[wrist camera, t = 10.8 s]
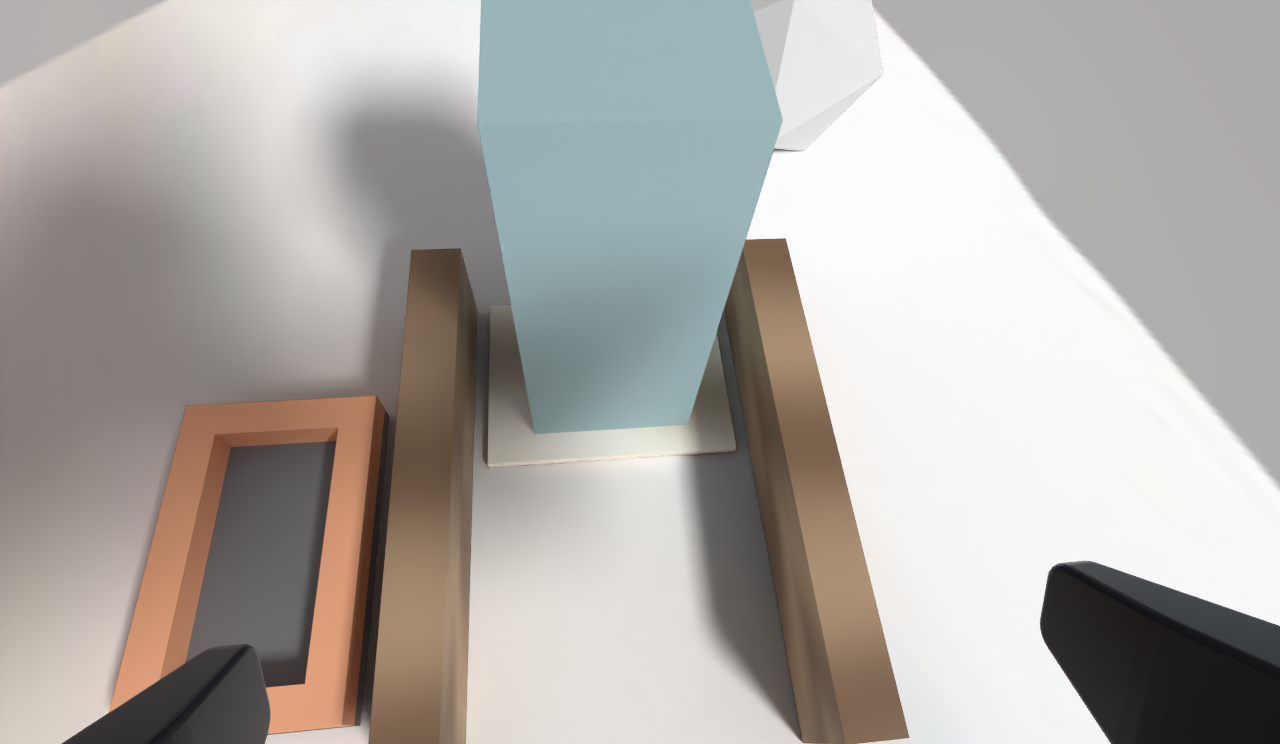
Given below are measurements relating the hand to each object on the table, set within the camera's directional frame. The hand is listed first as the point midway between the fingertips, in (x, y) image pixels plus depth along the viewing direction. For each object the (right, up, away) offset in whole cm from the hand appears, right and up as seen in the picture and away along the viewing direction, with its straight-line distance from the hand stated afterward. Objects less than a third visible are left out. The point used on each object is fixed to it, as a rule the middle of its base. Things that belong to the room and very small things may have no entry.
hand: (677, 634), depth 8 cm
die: (+4, +14, +22) cm, 27 cm away
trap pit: (-11, -3, +12) cm, 16 cm away
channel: (-1, -1, +14) cm, 14 cm away
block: (-2, +3, +15) cm, 16 cm away
